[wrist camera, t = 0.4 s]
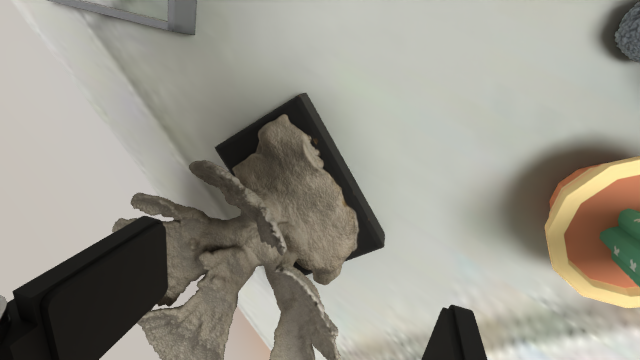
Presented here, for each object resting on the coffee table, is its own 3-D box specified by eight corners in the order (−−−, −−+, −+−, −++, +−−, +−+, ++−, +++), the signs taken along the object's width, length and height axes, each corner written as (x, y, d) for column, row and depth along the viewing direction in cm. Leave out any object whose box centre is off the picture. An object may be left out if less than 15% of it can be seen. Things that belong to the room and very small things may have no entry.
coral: (396, 255, 43) (393, 412, 23) (278, 291, 50) (201, 434, 31) (311, 89, 38) (218, 112, 19) (195, 156, 45) (39, 224, 26)
